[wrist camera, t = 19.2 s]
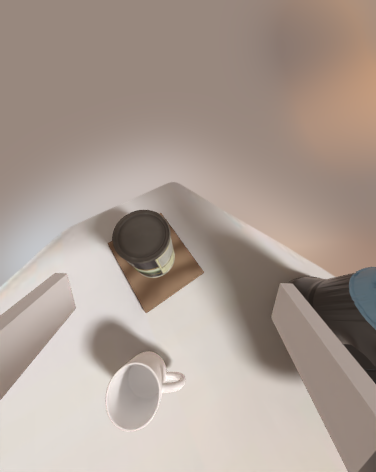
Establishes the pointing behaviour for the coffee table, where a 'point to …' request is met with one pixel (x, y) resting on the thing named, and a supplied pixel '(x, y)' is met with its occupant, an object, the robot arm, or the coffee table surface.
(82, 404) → the coffee table surface
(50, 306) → the robot arm
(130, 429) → the cup
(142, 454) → the coffee table surface
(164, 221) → the coffee can
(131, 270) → the walnut board
